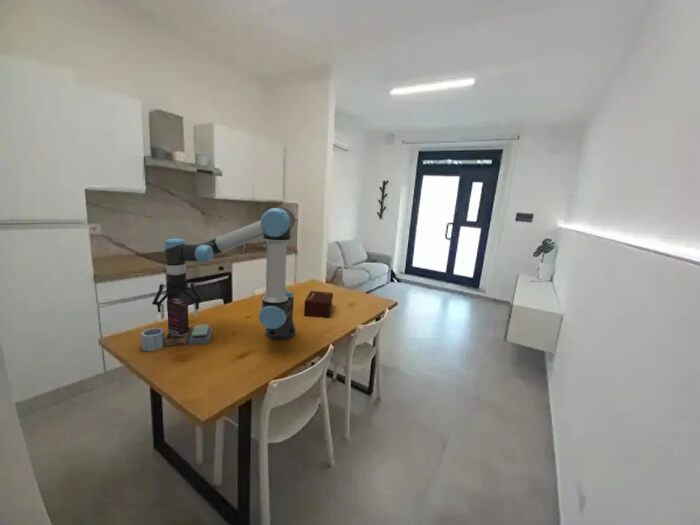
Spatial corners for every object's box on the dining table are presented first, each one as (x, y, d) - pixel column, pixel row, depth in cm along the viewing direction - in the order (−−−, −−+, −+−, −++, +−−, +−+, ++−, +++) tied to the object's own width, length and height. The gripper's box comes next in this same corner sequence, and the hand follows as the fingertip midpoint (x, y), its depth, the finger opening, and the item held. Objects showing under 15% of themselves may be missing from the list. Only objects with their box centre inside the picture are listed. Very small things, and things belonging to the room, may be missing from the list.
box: (330, 318, 180) (331, 303, 178) (303, 316, 181) (304, 300, 179) (334, 306, 201) (335, 292, 199) (309, 304, 201) (310, 290, 199)
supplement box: (189, 333, 142) (188, 301, 138) (179, 337, 137) (178, 304, 134) (177, 329, 145) (176, 297, 142) (167, 332, 141) (166, 300, 138)
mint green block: (209, 330, 149) (208, 324, 149) (206, 339, 140) (206, 332, 139) (195, 331, 147) (195, 325, 147) (192, 340, 138) (192, 333, 137)
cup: (166, 341, 138) (165, 327, 137) (161, 350, 131) (160, 335, 129) (145, 343, 136) (144, 328, 134) (140, 351, 128) (139, 336, 127)
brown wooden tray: (192, 332, 150) (192, 326, 149) (188, 344, 137) (187, 338, 136) (171, 333, 146) (170, 327, 146) (164, 346, 134) (163, 340, 133)
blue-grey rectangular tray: (212, 332, 151) (212, 327, 150) (210, 343, 140) (209, 338, 139) (192, 333, 148) (192, 328, 147) (188, 344, 137) (188, 339, 136)
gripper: (207, 270, 143) (209, 312, 147) (146, 271, 135) (150, 316, 139) (205, 274, 136) (207, 318, 140) (141, 276, 128) (145, 322, 132)
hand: (179, 317), depth 140 cm, fingers open, 13 cm apart
